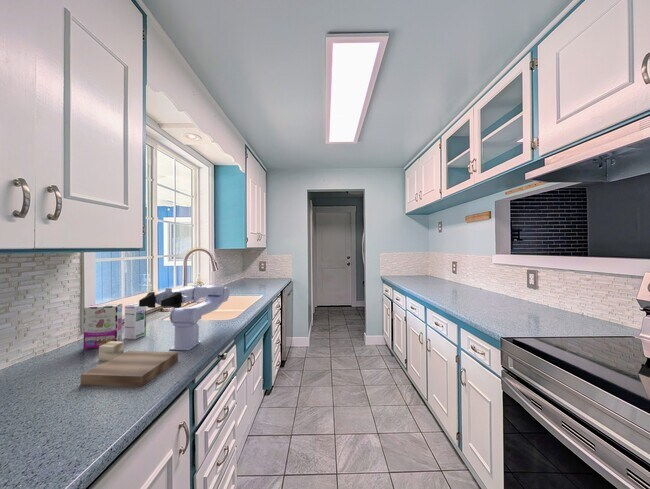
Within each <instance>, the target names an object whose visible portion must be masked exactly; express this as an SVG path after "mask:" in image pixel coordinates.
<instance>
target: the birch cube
mask: <svg viewBox="0 0 650 489" xmlns="http://www.w3.org/2000/svg"><path fill="white" fill-rule="evenodd" d="M124 350H125V341H122V342H117V341H110V342H108V343H106V344H103V345H101V346H99V349H98V361H106V362H107V361H109V360H111V359H113V358H115V357H117V356H119V355H121V354H123V353H125V351H124Z"/></svg>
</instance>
